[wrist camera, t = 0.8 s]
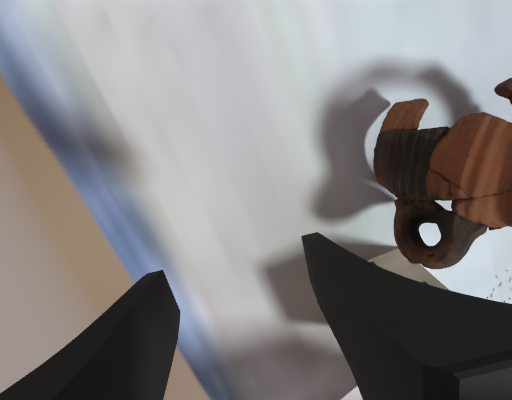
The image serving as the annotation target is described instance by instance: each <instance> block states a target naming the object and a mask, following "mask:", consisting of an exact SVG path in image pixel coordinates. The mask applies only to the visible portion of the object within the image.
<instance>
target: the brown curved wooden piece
mask: <svg viewBox="0 0 512 400" xmlns="http://www.w3.org/2000/svg"><path fill="white" fill-rule="evenodd" d="M495 93H496V94H497V95H499V96H502V97H504V98H508V99H509V100H510V103H511V104H512V78H510V79H508V80H506V81H504V82H502V83H500V84H498V85H497V86H496V87H495ZM428 105H429V103H428V101H427V100H426V99H414V100H411V101H404V102H397V103H395V104H394V105H393V106H392V108H391V109H390V110H389V112H388V113H387V115H386V117H385V119H384V121H383V124H382V127H381V129H380V133H379V135H378V138H377V143H376V147H375V149H374V160H373V163H374V171H375V175H376V178H377V181H378V183H379V184H380V185H382V186H384V187H385V188H386V189H388V190H389V191H390V192H391V193H392V194H394V195H395V196H396V197H397V198H398V199H396V200H394V203H395V206H396V213H395V217H394V236H395V241H396V244H397V246H398V249H399V250H400V252H401V254H402V255H403V256H404V257H405V258H407V259H408V261H409V262H410V263H411V264H419V263H420V264H422V265H423V266H424V267H426V268H430V269H443V268H447V267H450V266H453V265H455V264H456V263H458V262H459V261H460V260H461V259H462V258H463V257H464V256H465V255H466V253H467V252H468V250H469V248H470V246H471V244H472V243H473V241H474V240H475V239H476V238H477V237H479V236H480V235H482V234H484V233H485V232H486V230H487V227H489V230H495V229H501V228H503V227H506V226H510V227H512V123H510V122H507V121H505V120H503V119H501V118H498V117H495V116H493V115H491V114H488V113H485V112H481V113H478V114H470V115H468V116H465V117H463V118H461V119H460V120H459V121H458V122H456V123H455V124H454V125H453V126H452V127H451V128H448V127H438V128H431V129H421V130H417V129H418V127H419V122H420V120H421V118H422V116H423V114H424V112H425V110H426V108H427V107H428ZM435 200H441V201H445V200H447V201H449V200H452V205H451V208H452V211H448V210H445V209H444V208H443V207H442V206H441V205H440V204H438V203H437V202H435ZM423 223H436V224H437V225H438V228H439V230H440V233H441V239H440V241H439V242H438V243H437V244H436V245H435V246H427V245H426V244H425V243H424V242H423V240H422V238H421V236H420V233H419V227H420V225H421V224H423Z"/></svg>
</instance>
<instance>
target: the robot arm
mask: <svg viewBox="0 0 512 400" xmlns="http://www.w3.org/2000/svg"><path fill="white" fill-rule="evenodd" d="M302 241H303V247H304V252H305V257H306V262H307V267H308V272H309V278H310V282H311V284H312V287H313V290H314V293H315V296H316V298H317V301H318V304H319V306H320V308H321V310H322V312H323V314H324V316H325V318H326V320H327V322H328V324H329V326H330V328H331V330H332V332H333V334H334V336H335V338H336V340H337V342H338V344H339V346H340V348H341V350H342V352H343V353H344V355H345V357H346V360H347V362H348V364H349V366H350V368H351V371H352V373H353V375H354V378H355V380H356V383H357V385H358V388H359V390H360V393H361V395H362V398H363V400H512V304H508V303H502V302H497V301H492V300H487V299H483V298H478V297H474V296H470V295H465V294H461V293H457V292H453V291H449V290H445V289H442V288H438V287H435V286H432V285H428V284H425V283H422V282H419V281H416V280H413V279H410V278H407V277H404V276H402V275H399V274H396V273H394V272H391V271H389V270H386V269H384V268H381V267H379V266H377V265H375V264H373V263H371V262H369V261H366V260H364V259H362V258H360V257H358V256H357V255H355V254H353V253H351V252H349V251H347V250H346V249H344V248H342V247H340V246H339V245H337V244H336V243H334V242H332V241H331V240H329V239H327V238H326V237H324V236H323V235H321V234H319V233H318V232H316V233H312V234H308V235H304V236H302ZM179 322H180V310H179V307H178V305H177V303H176V300H175V298H174V295H173V293H172V291H171V288H170V286H169V284H168V281H167V279H166V276H165V274H164V272H163V270H160V271H156V272H152V273H148V274H146V275H145V276H143V277H142V278H141V279H140V280H139V281H138V282H136V283H135V284H134V285H133V286H132V287H131V288H130V289H129V290H128V291H127V292H126V293H125V294H124V295H123V296H122V297H120V298H119V299H118V300H117V301H116V302H115V303H114V304H113V305H112V306H111V307H110V308H109V309H108V310H107V311H106V312H104V313H103V314H102V315H101V316H100V317H99V318H98V319H96V320H95V321H94V322H93V323H92V324H91V325H90V326H89V327H87V328H86V329H85V330H84V331H83V332H82V333H81V334H79V335H78V336H77V337H76V338H75V339H74V340H72V341H71V342H70V343H69V344H67V345H66V346H65V347H64V348H63V349H61V350H60V351H59V352H57V353H56V354H55V355H53V356H52V357H51V358H50V359H48V360H47V361H46V362H44V363H43V364H42V365H40V366H39V367H38V368H36V369H35V370H33V371H32V372H30V373H29V374H28V375H26V376H25V377H23V378H22V379H20V380H19V381H18V382H16V383H15V384H13V385H12V386H11V387H9V388H8V389H6V390H5V391H3V392H2V393H0V400H163V398H164V394H165V390H166V386H167V381H168V377H169V373H170V369H171V365H172V361H173V356H174V352H175V348H176V344H177V339H178V332H179Z"/></svg>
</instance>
